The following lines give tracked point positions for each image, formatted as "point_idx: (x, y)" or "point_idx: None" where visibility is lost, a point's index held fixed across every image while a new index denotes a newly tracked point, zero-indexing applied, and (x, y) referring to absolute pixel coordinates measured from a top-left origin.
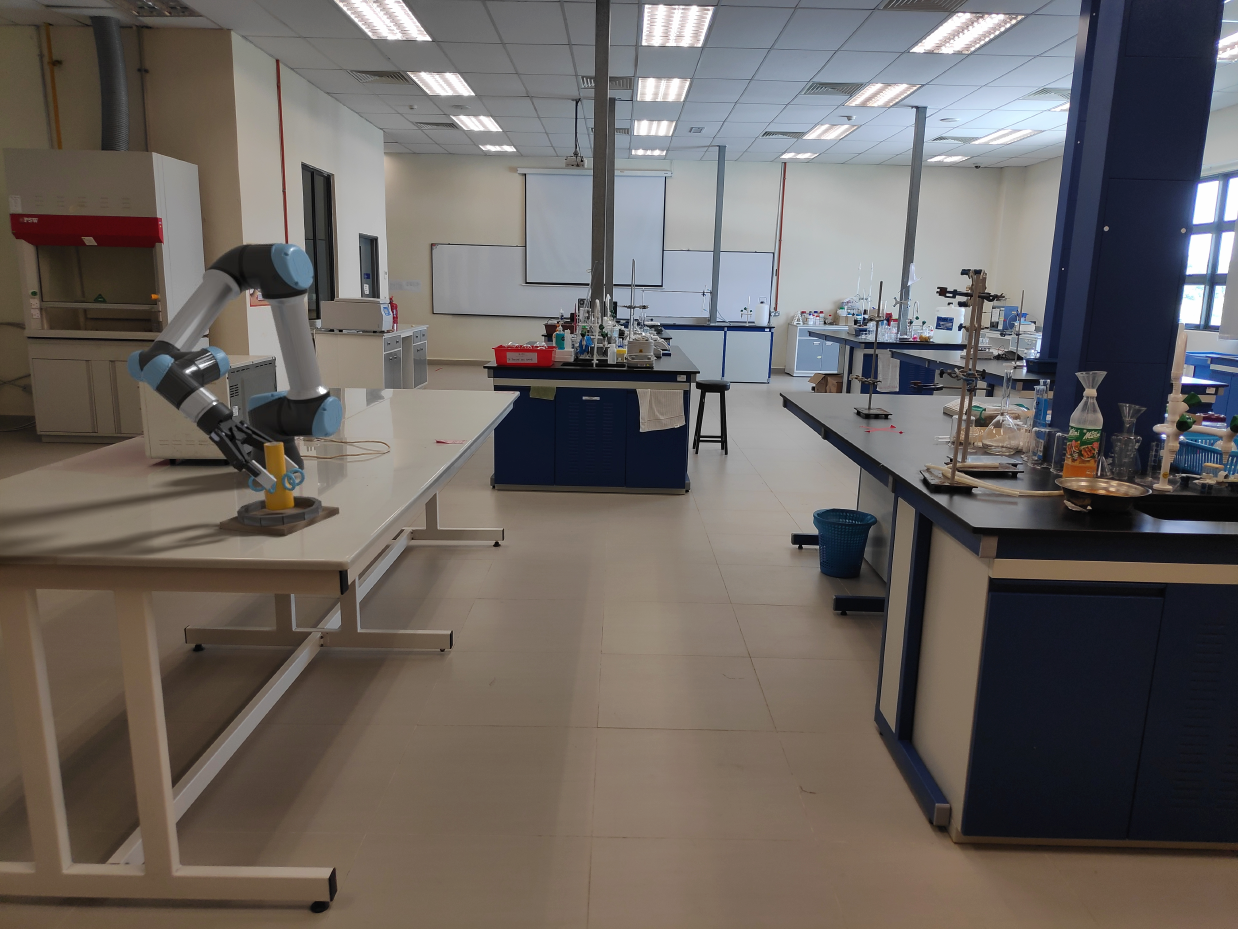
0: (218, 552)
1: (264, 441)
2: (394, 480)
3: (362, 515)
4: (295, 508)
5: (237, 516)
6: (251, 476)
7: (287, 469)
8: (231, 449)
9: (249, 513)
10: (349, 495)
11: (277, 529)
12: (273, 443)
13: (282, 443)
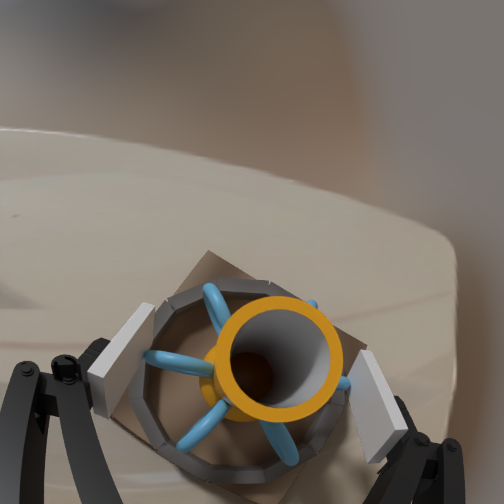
0: None
1: (86, 438)
2: (15, 177)
3: (239, 213)
4: (185, 352)
5: (228, 485)
6: (295, 458)
7: (145, 346)
8: (462, 500)
9: (208, 462)
10: (63, 244)
11: None
12: (229, 368)
13: (284, 298)
